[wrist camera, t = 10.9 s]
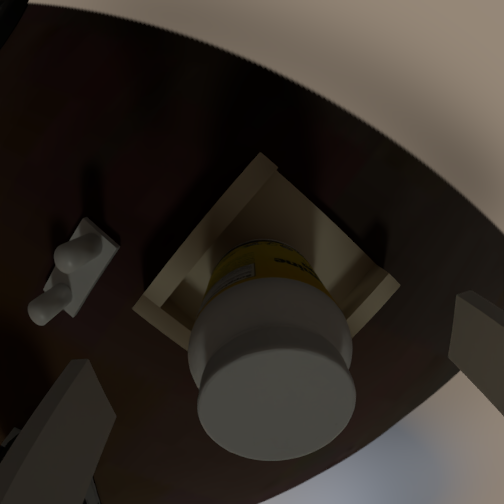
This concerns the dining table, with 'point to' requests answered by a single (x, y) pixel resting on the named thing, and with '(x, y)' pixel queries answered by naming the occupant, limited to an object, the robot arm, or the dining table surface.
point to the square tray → (264, 227)
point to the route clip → (74, 272)
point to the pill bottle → (270, 355)
